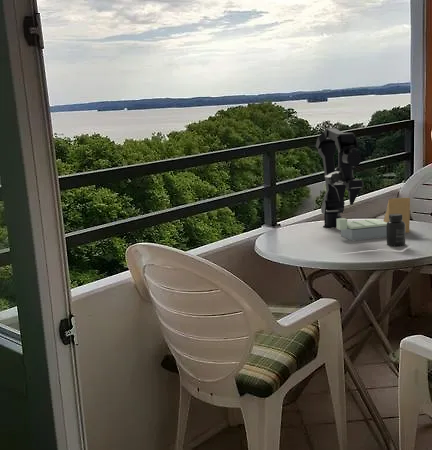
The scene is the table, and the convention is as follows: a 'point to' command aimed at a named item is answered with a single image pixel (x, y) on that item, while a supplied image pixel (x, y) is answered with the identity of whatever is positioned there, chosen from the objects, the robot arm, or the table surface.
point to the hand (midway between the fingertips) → (346, 203)
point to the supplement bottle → (395, 231)
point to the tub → (364, 233)
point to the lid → (358, 224)
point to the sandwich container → (399, 210)
